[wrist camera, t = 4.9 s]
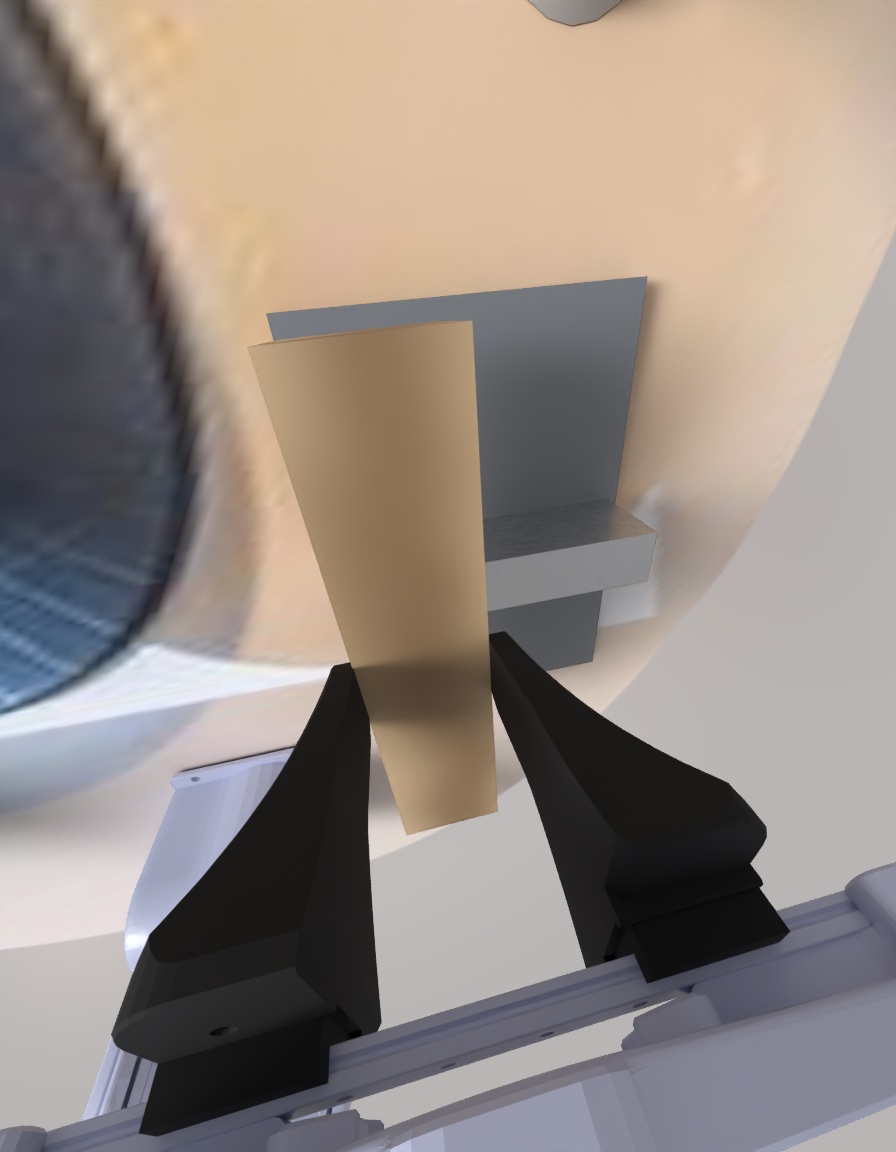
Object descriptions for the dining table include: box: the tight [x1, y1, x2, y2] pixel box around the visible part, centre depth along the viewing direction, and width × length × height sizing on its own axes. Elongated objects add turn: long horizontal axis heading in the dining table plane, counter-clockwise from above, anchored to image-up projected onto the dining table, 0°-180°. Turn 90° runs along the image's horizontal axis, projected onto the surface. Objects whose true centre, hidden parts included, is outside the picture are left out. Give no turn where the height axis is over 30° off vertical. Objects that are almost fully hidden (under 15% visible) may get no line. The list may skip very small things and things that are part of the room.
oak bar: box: [248, 321, 498, 835], centre depth 14 cm, size 4×18×4 cm, turn 6°
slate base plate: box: [266, 276, 647, 671], centre depth 20 cm, size 14×20×1 cm
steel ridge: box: [483, 499, 657, 612], centre depth 18 cm, size 13×2×4 cm, turn 95°
